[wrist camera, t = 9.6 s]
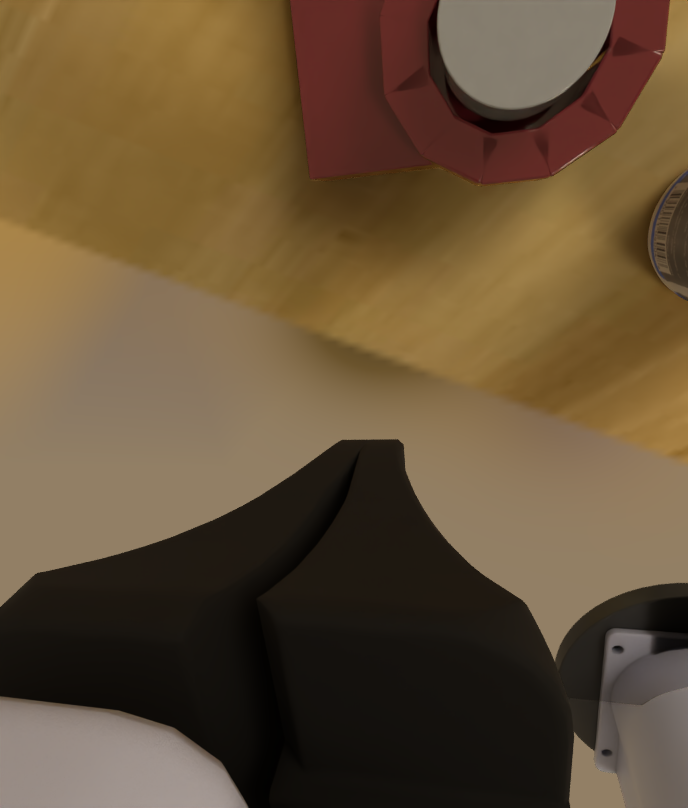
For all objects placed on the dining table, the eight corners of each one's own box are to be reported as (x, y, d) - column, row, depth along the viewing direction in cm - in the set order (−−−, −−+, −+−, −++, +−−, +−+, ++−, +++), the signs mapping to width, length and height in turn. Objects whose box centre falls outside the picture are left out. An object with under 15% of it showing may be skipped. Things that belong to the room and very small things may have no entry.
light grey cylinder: (590, 110, 13) (610, 96, 11) (442, 130, 14) (439, 120, 12) (600, -72, 12) (624, -119, 10) (437, -38, 13) (433, -76, 11)
